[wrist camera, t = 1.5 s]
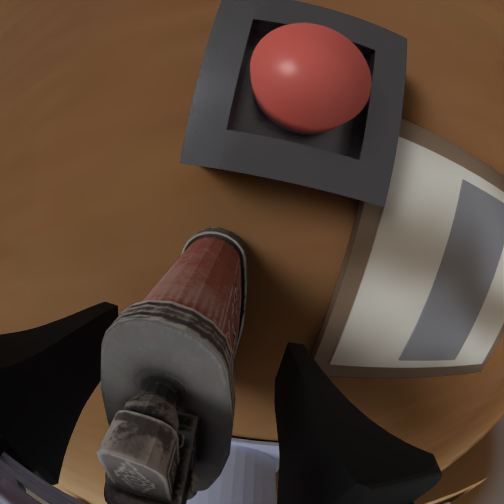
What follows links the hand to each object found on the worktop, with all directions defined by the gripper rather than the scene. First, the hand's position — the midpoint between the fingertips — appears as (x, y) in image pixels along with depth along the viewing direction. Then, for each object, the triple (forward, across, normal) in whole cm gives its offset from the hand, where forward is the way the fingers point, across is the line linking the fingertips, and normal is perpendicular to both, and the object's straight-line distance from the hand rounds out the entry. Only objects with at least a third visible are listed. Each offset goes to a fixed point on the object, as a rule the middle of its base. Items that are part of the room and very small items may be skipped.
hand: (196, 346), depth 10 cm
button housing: (+3, -2, -10) cm, 11 cm away
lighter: (+3, 0, 0) cm, 3 cm away
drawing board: (+3, -13, -4) cm, 14 cm away
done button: (+1, -2, -10) cm, 10 cm away
